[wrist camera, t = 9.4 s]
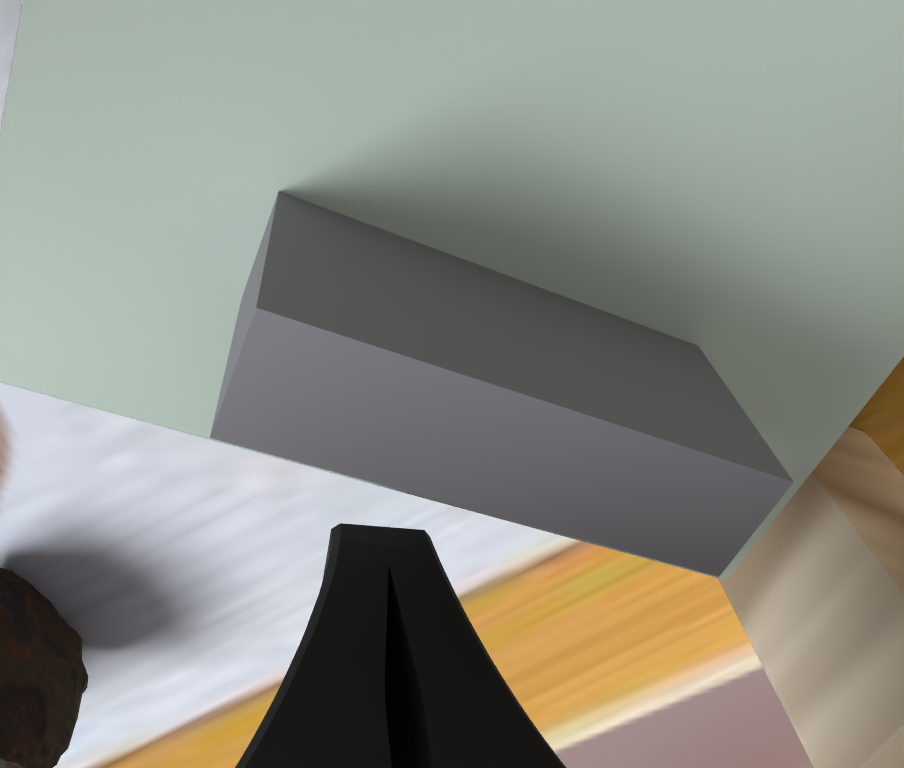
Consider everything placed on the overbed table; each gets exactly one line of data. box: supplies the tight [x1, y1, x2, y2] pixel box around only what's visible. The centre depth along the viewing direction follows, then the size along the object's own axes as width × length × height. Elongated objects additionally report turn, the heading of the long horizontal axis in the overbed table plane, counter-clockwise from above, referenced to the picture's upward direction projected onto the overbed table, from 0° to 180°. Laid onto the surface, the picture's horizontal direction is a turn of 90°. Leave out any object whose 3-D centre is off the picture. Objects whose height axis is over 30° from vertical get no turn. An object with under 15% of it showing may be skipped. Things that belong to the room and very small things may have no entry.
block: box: [718, 426, 904, 768], centre depth 16 cm, size 3×3×7 cm
